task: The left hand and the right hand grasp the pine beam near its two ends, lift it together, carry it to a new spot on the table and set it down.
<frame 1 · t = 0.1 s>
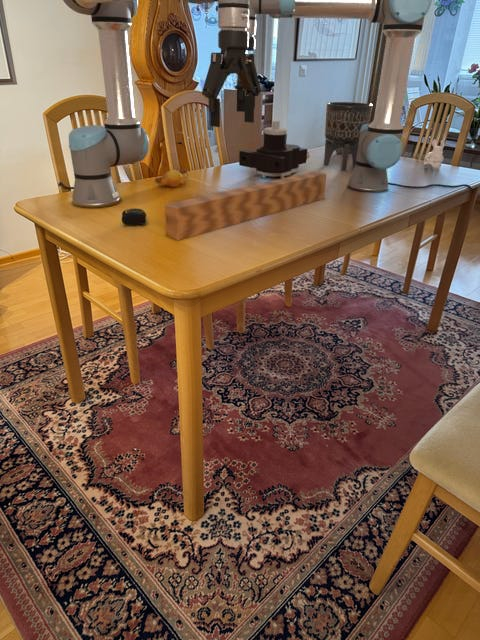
left hand: (232, 124, 121), 28 cm above the table, tool pointing down, fingers open, 13 cm apart
right hand: (242, 109, 155), 28 cm above the table, tool pointing down, fingers open, 13 cm apart
tape measure: (135, 225, 134), on the table
planter: (341, 167, 211), on the table
figurine: (431, 169, 210), on the table
rock: (347, 153, 242), on the table
mechanical component: (280, 173, 196), on the table
beam: (255, 214, 145), on the table
toy: (174, 185, 175), on the table
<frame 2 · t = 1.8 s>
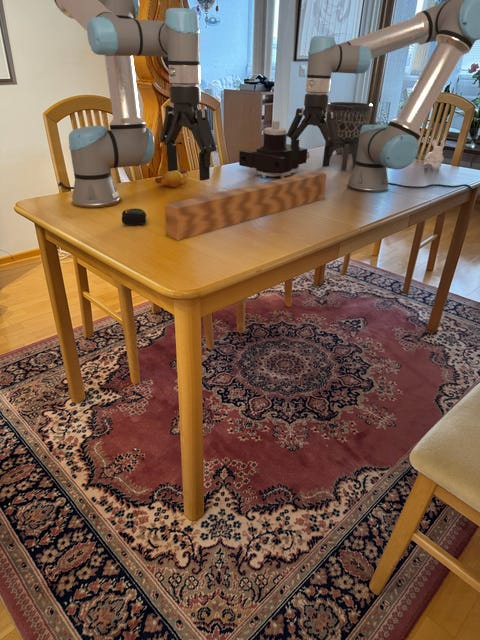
left hand: (188, 175, 121), 16 cm above the table, tool pointing down, fingers open, 13 cm apart
right hand: (309, 163, 154), 13 cm above the table, tool pointing down, fingers open, 13 cm apart
nothing on the table moved.
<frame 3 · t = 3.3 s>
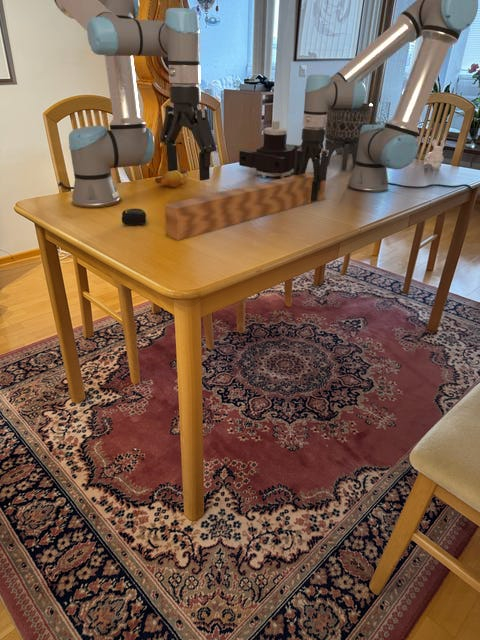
left hand: (188, 175, 121), 16 cm above the table, tool pointing down, fingers open, 13 cm apart
right hand: (307, 198, 160), 1 cm above the table, tool pointing down, fingers closed on beam, 5 cm apart
beam: (255, 214, 145), on the table, touching right hand
everything else where it was.
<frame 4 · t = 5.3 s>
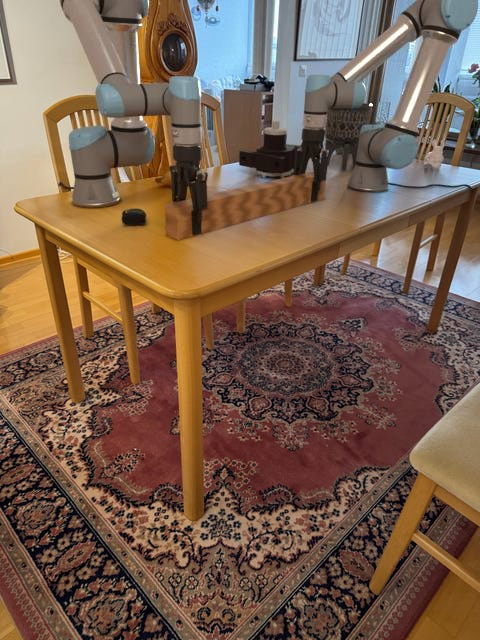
left hand: (190, 230, 128), 1 cm above the table, tool pointing down, fingers closed on beam, 5 cm apart
right hand: (307, 198, 160), 1 cm above the table, tool pointing down, fingers closed on beam, 5 cm apart
beam: (255, 214, 145), on the table, touching right hand, left hand
everything else where it was.
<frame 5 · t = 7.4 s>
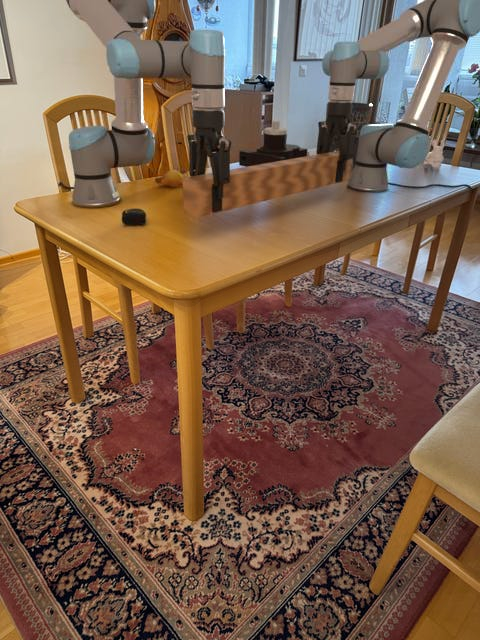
left hand: (209, 208, 116), 10 cm above the table, tool pointing down, fingers closed on beam, 5 cm apart
right hand: (331, 179, 149), 9 cm above the table, tool pointing down, fingers closed on beam, 5 cm apart
beam: (277, 194, 133), point 9 cm above the table, touching right hand, left hand
everything else where it was.
when the left hand's fingers open (2 cm above the table, at t = 9.5 s): beam drops 1 cm, on the table.
when the right hand's fingers open (2 cm above the table, at t = 9.5 s): beam drops 1 cm, on the table.
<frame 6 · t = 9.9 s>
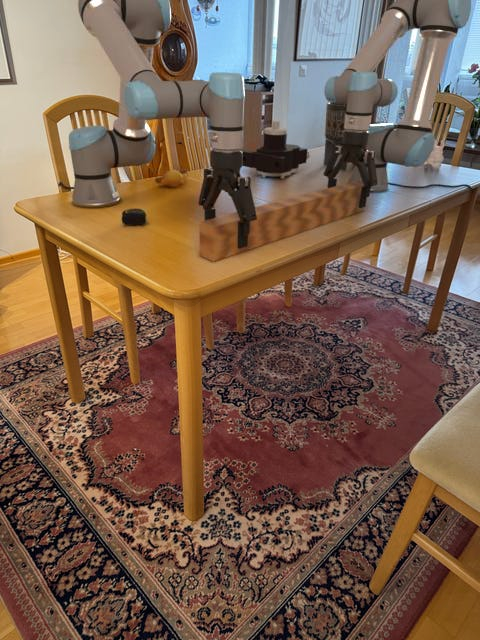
left hand: (226, 240, 114), 3 cm above the table, tool pointing down, fingers open, 11 cm apart
right hand: (346, 203, 146), 3 cm above the table, tool pointing down, fingers open, 11 cm apart
beam: (292, 230, 132), on the table
everything else where it was.
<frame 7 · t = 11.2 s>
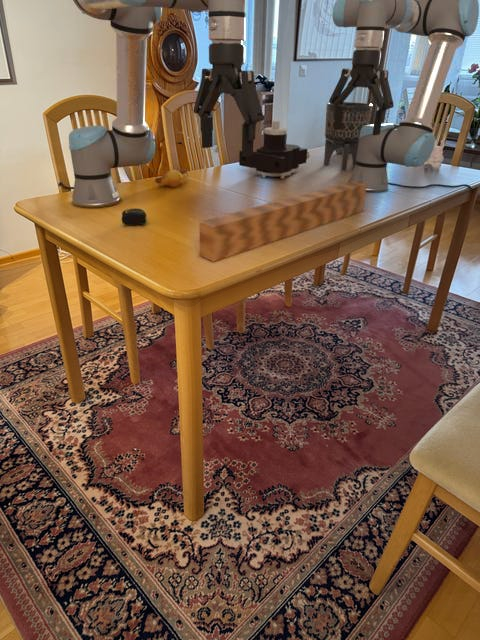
left hand: (226, 151, 104), 25 cm above the table, tool pointing down, fingers open, 13 cm apart
right hand: (356, 132, 135), 25 cm above the table, tool pointing down, fingers open, 13 cm apart
nothing on the table moved.
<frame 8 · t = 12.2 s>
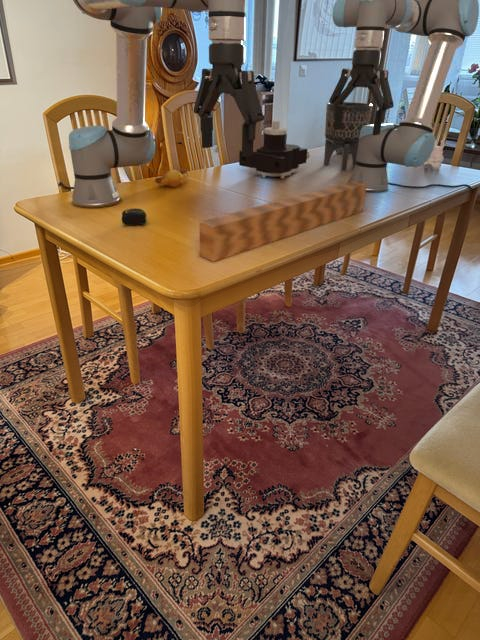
left hand: (226, 151, 104), 25 cm above the table, tool pointing down, fingers open, 13 cm apart
right hand: (356, 132, 135), 25 cm above the table, tool pointing down, fingers open, 13 cm apart
nothing on the table moved.
at the end: beam inside the target area (0.2 cm from its centre), on the table; beam tilted 0°; beam never tilted more than 1° during the clip; both hands held the beam at the same time; the left hand is holding nothing; the right hand is holding nothing; beam at rest at the end (0.0 cm/s) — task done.
